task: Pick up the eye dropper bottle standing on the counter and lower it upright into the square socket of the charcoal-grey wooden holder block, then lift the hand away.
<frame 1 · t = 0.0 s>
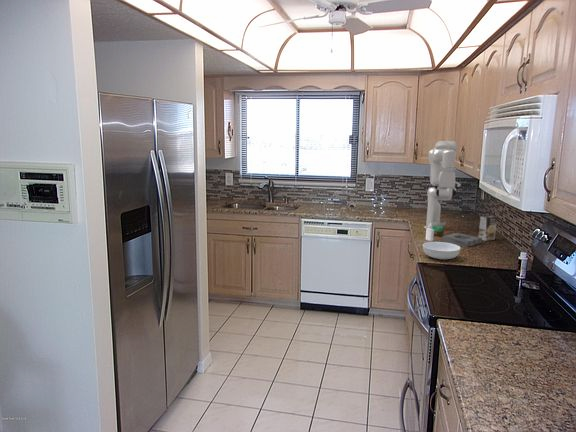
hand: (445, 196, 281), 31 cm above the countertop, tool pointing down, fingers open, 9 cm apart
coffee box: (486, 239, 299), on the countertop
eye dropper bottle: (429, 240, 294), on the countertop
serving bowl: (440, 257, 254), on the countertop
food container: (435, 235, 309), on the countertop
holder block: (461, 242, 290), on the countertop
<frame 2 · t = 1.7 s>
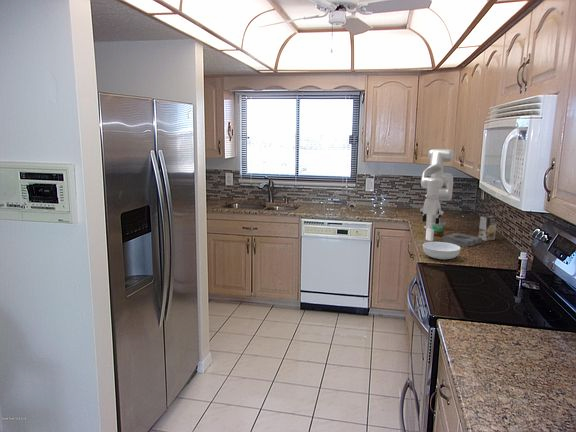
hand: (430, 222, 291), 12 cm above the countertop, tool pointing down, fingers open, 9 cm apart
nothing on the countertop moved.
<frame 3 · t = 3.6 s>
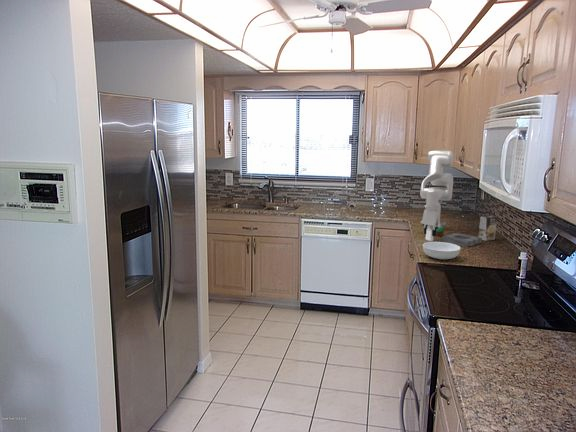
hand: (429, 234, 293), 4 cm above the countertop, tool pointing down, fingers closed on eye dropper bottle, 5 cm apart
eye dropper bottle: (429, 240, 294), on the countertop, touching gripper
everything else where it was.
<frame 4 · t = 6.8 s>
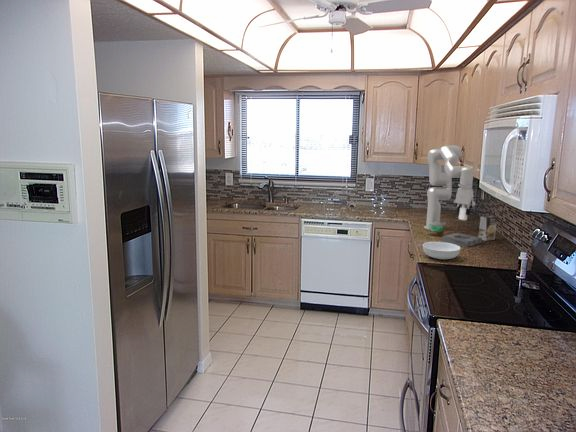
hand: (463, 213, 286), 19 cm above the countertop, tool pointing down, fingers closed on eye dropper bottle, 5 cm apart
eye dropper bottle: (462, 220, 287), point 15 cm above the countertop, touching gripper
everything else where it was.
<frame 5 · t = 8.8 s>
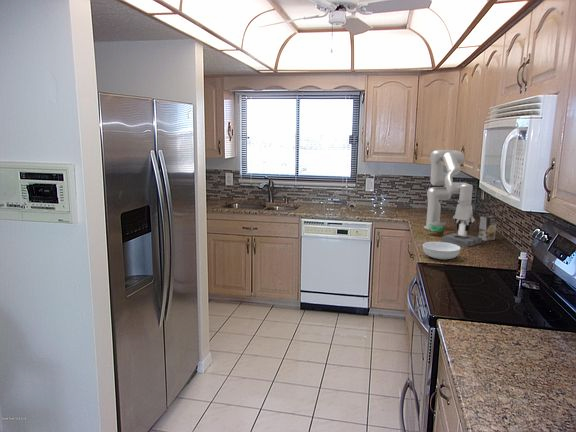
hand: (462, 229, 288), 9 cm above the countertop, tool pointing down, fingers closed on eye dropper bottle, 5 cm apart
eye dropper bottle: (462, 235, 289), point 4 cm above the countertop, touching gripper
everything else where it was.
when the fingers open (6 cm above the countertop, at t = 10.2 s): eye dropper bottle drops 1 cm, resting on holder block.
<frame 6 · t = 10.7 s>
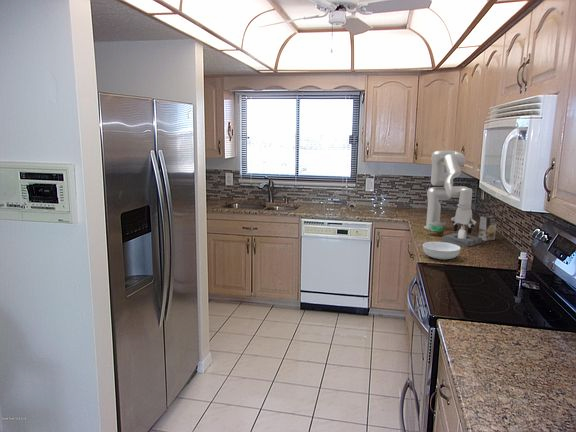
hand: (462, 232, 288), 7 cm above the countertop, tool pointing down, fingers open, 9 cm apart
eye dropper bottle: (461, 241, 290), resting on holder block
everything else where it was.
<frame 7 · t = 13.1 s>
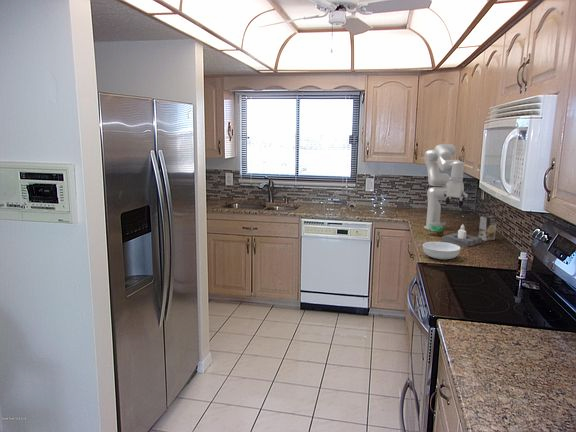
hand: (454, 205, 292), 24 cm above the countertop, tool pointing down, fingers open, 9 cm apart
nothing on the countertop moved.
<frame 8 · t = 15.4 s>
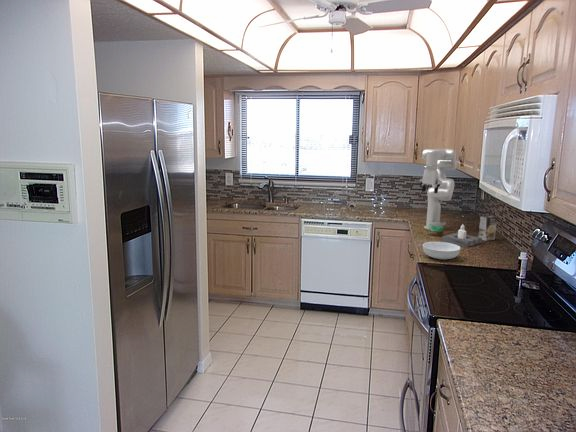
hand: (429, 192, 306), 30 cm above the countertop, tool pointing down, fingers open, 9 cm apart
nothing on the countertop moved.
at the end: eye dropper bottle 0.2 cm off-centre on the holder block, point 0.1 cm above the holder block's base; eye dropper bottle tilted 0°; the gripper is holding nothing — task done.
